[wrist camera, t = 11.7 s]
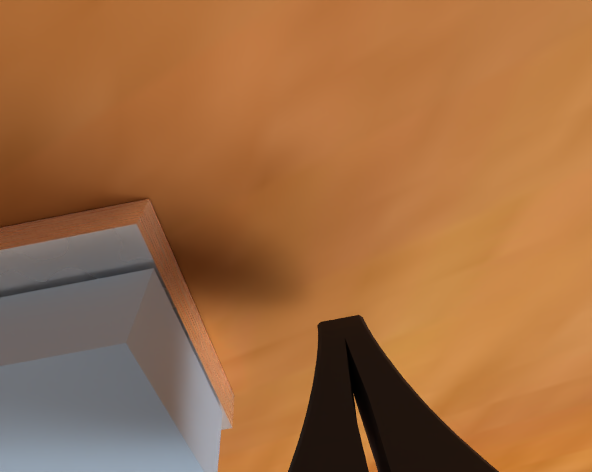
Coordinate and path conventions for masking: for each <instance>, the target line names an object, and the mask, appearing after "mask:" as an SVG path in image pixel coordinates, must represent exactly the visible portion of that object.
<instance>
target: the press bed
mask: <svg viewBox="0 0 592 472" xmlns="http://www.w3.org/2000/svg"><path fill="white" fill-rule="evenodd" d="M152 268H154V270H155V272H156V274H157V276H158V278H159V280H160V282H161V284H162V287H163V289H164V291H165V293H166V295H167V297H168V299H169V301H170V303H171V305H172V308H173V310H174V312H175V314H176V316H177V318H178V320H179V322H180V324H181V326H182V329H183V331H184V333H185V335H186V337H187V339H188V341H189V343H190V345H191V347H192V350H193V352H194V354H195V356H196V358H197V360H198V362H199V364H200V366H201V369H202V371H203V373H204V375H205V377H206V379H207V381H208V383H209V385H210V387H211V390H212V392H213V394H214V396H215V398H216V400H217V402H218V404H219V406H220V408H221V411H222V424H221V430H223V429H228V428H232V423H233V407H234V394H233V392H232V390H231V387H230V385H229V383H228V380H227V378H226V376H225V373H224V371H223V369H222V366H221V364H220V362H219V359H218V357H217V355H216V352H215V350H214V348H213V345H212V343H211V341H210V338H209V336H208V334H207V331H206V329H205V327H204V324H203V322H202V320H201V317H200V315H199V313H198V310H197V308H196V306H195V303H194V301H193V299H192V297H191V294H190V292H189V290H188V287H187V285H186V283H185V280H184V278H183V276H182V273H181V271H180V269H179V266H178V264H177V262H176V259H175V257H174V255H173V252H172V250H171V248H170V245H169V243H168V241H167V238H166V236H165V234H164V231H163V229H162V227H161V224H160V222H159V220H158V217H157V215H156V213H155V210H154V208H153V206H152V204H151V201H150V199H144V200H139V201H134V202H129V203H124V204H119V205H114V206H109V207H104V208H99V209H93V210H88V211H83V212H78V213H73V214H68V215H63V216H58V217H53V218H48V219H42V220H37V221H32V222H27V223H22V224H17V225H12V226H7V227H2V228H0V297H5V296H11V295H16V294H21V293H26V292H31V291H37V290H42V289H47V288H52V287H58V286H63V285H68V284H73V283H79V282H84V281H89V280H94V279H100V278H105V277H110V276H115V275H121V274H126V273H131V272H136V271H142V270H147V269H152Z"/></svg>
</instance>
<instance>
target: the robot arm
mask: <svg viewBox="0 0 592 472" xmlns="http://www.w3.org/2000/svg"><path fill="white" fill-rule="evenodd" d="M353 393H354V395H353ZM354 397H355V400H356V403H357V406H358V409H359V412H360V415H361V419H362V422H363V425H364V428H365V431H366V434H367V437H368V440H369V444H370V447H371V450H372V453H373V456H374V459H375V462H376V466H377V469H378V472H499V471H497V470H496V469H495V468H494V467H493V466H491V465H490V464H489V463H488V462H487V461H486V460H484V459H483V458H482V457H481V456H480V455H479V454H478V453H477V452H475V451H474V450H473V449H472V448H471V447H470V446H469V445H468V444H466V443H465V442H464V441H463V440H462V439H461V438H460V437H459V436H457V435H456V434H455V433H454V432H453V431H452V430H451V429H450V428H449V427H448V426H447V425H446V424H445V423H444V422H443V421H442V420H441V419H440V418H439V417H438V416H437V415H436V414H435V413H434V412H433V411H432V410H431V409H430V408H429V407H428V405H427V404H426V403H425V402H424V401H423V400H422V399H421V398H420V397H419V396H418V394H417V393H416V392H415V391H414V390H413V389H412V387H411V386H410V385H409V384H408V383H407V382H406V380H405V379H404V378H403V377H402V375H401V374H400V373H399V372H398V370H397V369H396V368H395V367H394V365H393V364H392V363H391V361H390V360H389V359H388V357H387V356H386V355H385V353H384V352H383V350H382V349H381V348H380V346H379V345H378V343H377V342H376V340H375V338H374V337H373V335H372V334H371V332H370V330H369V329H368V327H367V325H366V323H365V321H364V319H363V317H361V316H360V315H356V316H351V317H345V318H340V319H335V320H329V321H324V322H320V323H319V324H318V351H317V361H316V368H315V374H314V380H313V386H312V391H311V395H310V400H309V404H308V409H307V413H306V417H305V420H304V424H303V428H302V431H301V434H300V438H299V441H298V444H297V447H296V450H295V453H294V456H293V459H292V462H291V465H290V468H289V470H288V472H369V471H368V467H367V463H366V458H365V454H364V450H363V446H362V442H361V437H360V433H359V429H358V425H357V418H356V410H355V402H354Z"/></svg>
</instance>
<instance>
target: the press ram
mask: <svg viewBox="0 0 592 472" xmlns="http://www.w3.org/2000/svg"><path fill="white" fill-rule="evenodd" d="M221 424H222V411H221V408H220V406H219V404H218V402H217V400H216V398H215V396H214V394H213V392H212V390H211V387H210V385H209V383H208V381H207V379H206V377H205V375H204V373H203V371H202V369H201V366H200V364H199V362H198V360H197V358H196V356H195V354H194V352H193V350H192V347H191V345H190V343H189V341H188V339H187V337H186V335H185V333H184V331H183V329H182V326H181V324H180V322H179V320H178V318H177V316H176V314H175V312H174V310H173V308H172V305H171V303H170V301H169V299H168V297H167V295H166V293H165V291H164V289H163V287H162V284H161V282H160V280H159V278H158V276H157V274H156V272H155V270H154V268H152V269H147V270H142V271H136V272H131V273H126V274H121V275H115V276H110V277H105V278H100V279H94V280H89V281H84V282H79V283H73V284H68V285H63V286H58V287H52V288H47V289H42V290H37V291H31V292H26V293H21V294H16V295H11V296H5V297H0V472H217V471H218V459H219V448H220V436H221Z"/></svg>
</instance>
